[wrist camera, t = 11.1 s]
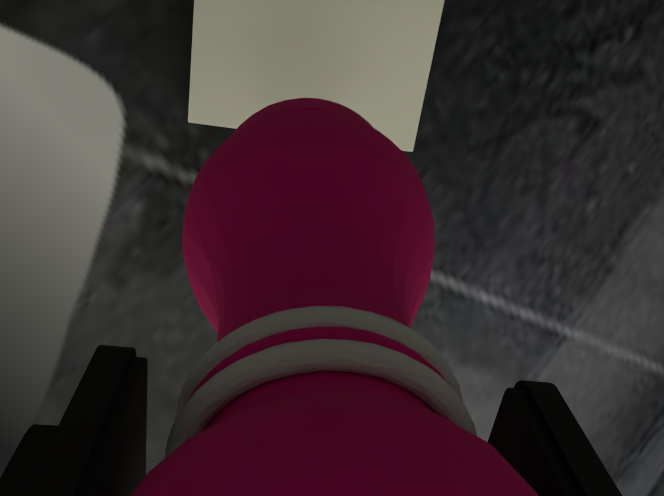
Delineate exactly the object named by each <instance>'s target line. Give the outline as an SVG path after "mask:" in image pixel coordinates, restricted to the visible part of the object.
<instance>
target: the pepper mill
mask: <svg viewBox="0 0 664 496" xmlns="http://www.w3.org/2000/svg"><path fill="white" fill-rule="evenodd" d="M182 246H183V256H184V261H185V265H186V269H187V273H188V277H189V280H190V284H191V287H192V290H193V292H194V294H195V297H196V299H197V301H198V304H199V306H200V307H201V309H202V310H203V312H204V313H205V315H206V317H207V318H208V320H209V321H210V322H211V324H212V325H213V327H214V328H215V330H216V331H217V333H218V340H217V343H216V344H215V345H213V346H212V347H211V348H210V350H209V351H208V352H207V353H206V354H205V355H204V356H203V357H202V358H201V359H200V361H199V362H198V363H197V364H196V366H195V367H194V368H193V369H192V371H191V372H190V374H189V375H188V377H187V379H186V381H185V383H184V385H183V387H182V389H181V392H180V396H179V399H178V402H177V407H176V412H175V417H174V424H173V426H172V429H171V432H170V435H169V438H168V442H167V446H166V453H165V459H164V460H162V461H161V462H160V463H159V464H158V465H157V466H155V467H154V468H153V469H152V470H151V471H149V472H148V474H147V475H146V476H145V477H144V479H143V480H142V481H141V483H140V484H139V485H138V487H137V488H136V489H135V490H134V492H133V493H132V495H131V496H538V494H537V493H536V491H535V490H534V489H533V488H532V487H531V486H530V485H529V484H528V483H527V482H526V481H525V480H524V479H523V478H522V477H521V476H520V475H519V473H518V472H517V471H516V470H515V469H514V468H513V467H512V466H511V465H510V464H509V463H508V462H507V461H506V460H505V459H504V458H503V457H502V456H501V454H500V453H499V452H498V451H497V450H496V449H495V448H494V447H493V446H492V445H491V444H489V443H488V442H486V441H484V440H482V439H481V438H479V437H477V434H476V430H475V426H474V423H473V421H472V419H471V417H470V415H469V413H468V411H467V409H466V407H465V405H464V403H463V400H462V395H461V391H460V387H459V384H458V382H457V380H456V378H455V376H454V374H453V372H452V370H451V368H450V366H449V365H448V364H447V362H446V361H445V359H444V358H443V357H442V355H441V354H440V353H439V352H438V351H437V350H436V349H435V348H434V347H433V346H432V345H431V344H430V343H429V342H428V341H427V340H426V339H425V338H423V337H422V336H421V335H419V334H418V333H416V332H415V331H413V330H412V329H410V327H411V324H412V322H413V320H414V318H415V315H416V313H417V311H418V309H419V307H420V304H421V302H422V300H423V298H424V296H425V293H426V290H427V286H428V283H429V280H430V275H431V269H432V263H433V256H434V250H435V243H434V221H433V217H432V213H431V209H430V205H429V202H428V198H427V195H426V191H425V188H424V185H423V183H422V181H421V179H420V177H419V175H418V173H417V171H416V169H415V167H414V166H413V165H412V163H411V162H410V160H409V159H408V158H407V156H406V155H405V154H404V153H403V152H402V151H401V150H400V149H399V148H398V147H397V146H396V145H395V144H394V143H393V142H392V141H391V140H390V139H389V138H387V137H386V136H385V135H383V134H382V133H381V132H379V131H378V130H376V129H374V128H373V127H372V125H371V124H370V123H369V122H368V121H367V120H365V119H364V118H363V117H362V116H360V115H359V114H358V113H356V112H355V111H353V110H351V109H350V108H347V107H345V106H343V105H341V104H339V103H335V102H332V101H329V100H324V99H319V98H297V99H290V100H284V101H281V102H277V103H274V104H271V105H268V106H266V107H265V108H263V109H261V110H260V111H258V112H256V113H254V114H253V115H251V116H250V117H249V118H248V119H247V120H245V121H244V122H243V123H242V124H241V125H240V126H239V127H238V128H237V129H236V131H235V132H234V133H233V135H232V136H231V137H230V138H229V139H227V140H226V141H225V142H223V143H222V144H221V145H220V146H219V147H218V149H217V150H216V151H215V152H214V153H213V154H212V155H211V156H210V157H209V159H208V160H207V161H206V162H205V164H204V166H203V167H202V169H201V170H200V172H199V174H198V175H197V177H196V179H195V182H194V184H193V187H192V189H191V192H190V194H189V197H188V201H187V206H186V211H185V216H184V223H183V232H182Z"/></svg>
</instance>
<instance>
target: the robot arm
mask: <svg viewBox="0 0 664 496" xmlns="http://www.w3.org/2000/svg"><path fill="white" fill-rule="evenodd" d="M146 422H147V358H142V357H136V350H135V348H130V347H118V346H106V345H99V346H98V347H97V349H96V351H95V353H94V355H93V357H92V359H91V361H90V363H89V365H88V367H87V369H86V371H85V373H84V375H83V377H82V379H81V381H80V383H79V385H78V387H77V389H76V391H75V393H74V395H73V397H72V399H71V401H70V403H69V405H68V407H67V409H66V411H65V413H64V415H63V417H62V419H61V422H60V424H59V426H52V425H37V424H34V425H32V426H31V427H30V428H29V429H28V430H27V432H26V433H25V435H24V436H23V438H22V440H21V442H20V443H19V445H18V447H17V449H16V451H15V453H14V454H13V456H12V458H11V460H10V462H9V463H8V465H7V467H6V469H5V471H4V472H3V474H2V476H1V478H0V496H131V495H132V493H133V492H134V490H135V489H136V488H137V487H138V485H139V484H140V483H141V481H142V480H143V479H144V477H145V476H146ZM488 443H489V444H491V445H492V446H493V447H494V448H495V449H496V450H497V451H498V452H499V453H500V454H501V456H502V457H503V458H504V459H505V460H506V461H507V462H508V463H509V464H510V465H511V466H512V467H513V468H514V469H515V470H516V471H517V472H518V473H519V475H520V476H521V477H522V478H523V479H524V480H525V481H526V482H527V483H528V484H529V485H530V486H531V487H532V488H533V489H534V490H535V491H536V493H537V494H538V496H622V495H621V493H620V491H619V490H618V488H617V486H616V485H615V483H614V482H613V480H612V478H611V477H610V475H609V474H608V472H607V470H606V469H605V467H604V465H603V464H602V462H601V460H600V459H599V457H598V455H597V454H596V452H595V450H594V449H593V447H592V445H591V444H590V442H589V440H588V439H587V437H586V435H585V434H584V432H583V430H582V429H581V427H580V425H579V424H578V422H577V420H576V419H575V417H574V415H573V414H572V412H571V410H570V409H569V407H568V405H567V404H566V402H565V400H564V399H563V397H562V395H561V394H560V392H559V390H558V389H557V387H556V386H555V385H554V384H552V383H547V382H535V381H523V380H521V381H518V382H517V383H516V384H515V386H514V388H508V389H507V390H506V391H505V393H504V395H503V398H502V401H501V404H500V407H499V410H498V413H497V416H496V419H495V422H494V425H493V428H492V431H491V434H490V437H489V440H488Z"/></svg>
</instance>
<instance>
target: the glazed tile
mask: <svg viewBox="0 0 664 496" xmlns="http://www.w3.org/2000/svg"><path fill="white" fill-rule="evenodd" d="M443 5H444V0H194V14H193V34H192V53H191V73H190V92H189V112H188V122H190V123H198V124H205V125H213V126H220V127H228V128H236V129H237V128H238V127H239V126H240V125H241V124H242V123H243V122H244V121H245V120H247V119H248V118H249V117H250V116H251V115H253V114H254V113H256V112H258V111H260V110H261V109H263V108H265V107H266V106H268V105H271V104H274V103H277V102H281V101H284V100H290V99H297V98H319V99H324V100H329V101H332V102H335V103H339V104H341V105H343V106H345V107H347V108H350V109H351V110H353V111H355V112H356V113H358V114H359V115H360V116H362V117H363V118H364V119H365V120H367V121H368V122H369V123H370V124H371V125H372V127H373V128H374V129H376V130H378V131H379V132H381V133H382V134H383V135H385V136H386V137H387V138H389V139H390V140H391V141H392V142H393V143H394V144H395V145H396V146H397V147H398V148H399V149H400V150H403V151H410V152H413V148H414V143H415V138H416V134H417V129H418V124H419V119H420V114H421V110H422V105H423V100H424V95H425V91H426V86H427V81H428V76H429V71H430V67H431V62H432V57H433V52H434V48H435V43H436V38H437V33H438V28H439V24H440V19H441V14H442V9H443Z"/></svg>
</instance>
